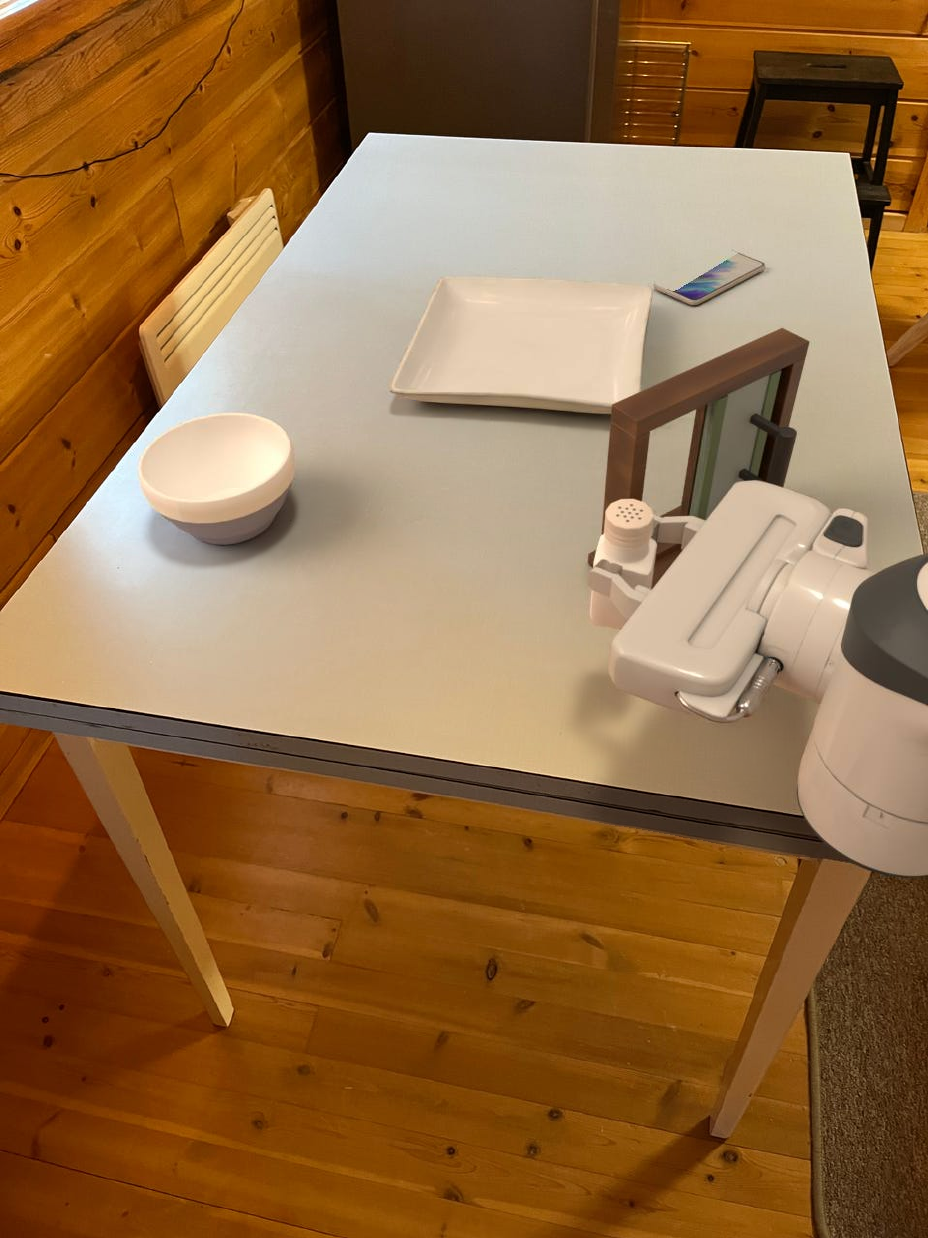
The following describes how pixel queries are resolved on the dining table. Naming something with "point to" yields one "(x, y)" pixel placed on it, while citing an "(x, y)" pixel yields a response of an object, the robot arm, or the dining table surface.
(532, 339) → the square plate
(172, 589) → the dining table surface
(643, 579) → the salt shaker
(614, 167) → the dining table surface
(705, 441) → the window sash
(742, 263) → the smartphone
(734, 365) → the window frame
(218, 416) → the bowl
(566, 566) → the dining table surface
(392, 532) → the dining table surface
